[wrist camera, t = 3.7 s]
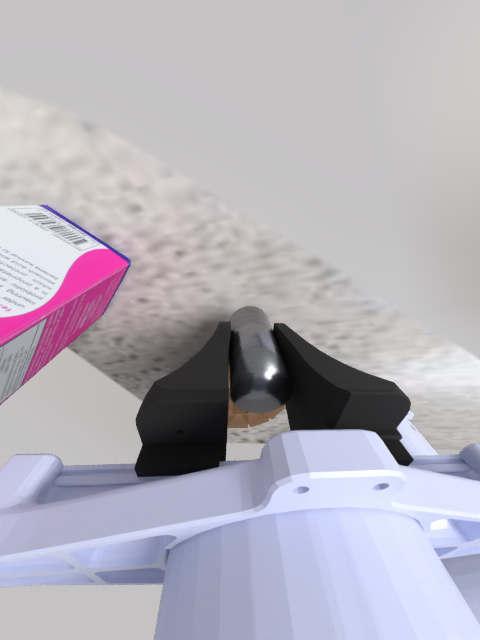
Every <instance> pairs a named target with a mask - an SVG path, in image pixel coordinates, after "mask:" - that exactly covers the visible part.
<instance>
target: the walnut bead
mask: <svg viewBox="0 0 480 640" xmlns="http://www.w3.org/2000/svg"><path fill="white" fill-rule="evenodd" d="M228 384H230V357H229V369H228ZM284 406H286V405H285V404H284V405H283V406H281V407H280V408H278V409H276V410H273V411H270V412H265V413H251V412H247V411H244V410H241V409H240V408H238V407H237V406H236V405H235V404H234V403H233V402H232V400H231V396H230V388H229V408H228V428H247V427H248V424H249V425H250V427H253V426H256V425H259V424H262V423H265V422H268V421H269V419H268V418H270V419H273V418H274V417H275V416H276V415H277V414H279V413H280V412H281V411H282V410H283V409H284Z"/></svg>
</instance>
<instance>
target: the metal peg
mask: <svg viewBox="0 0 480 640" xmlns="http://www.w3.org/2000/svg"><path fill="white" fill-rule="evenodd" d="M230 322H231V336H230V396H231V400H232V402H233V403H234V404H235V405H236V406H237V407H238V408H240V409H241V410H244V411H247V412H251V413H265V412H270V411H273V410H276V409H278V408H280V407H281V406H283V405H284V404H286V403H287V402H288V400H289V399H290V398H291V396H292V393H293V384H292V381H291V379H290V376H289V373H288V371H287V368H286V365H285V363H284V360H283V357H282V355H281V352H280V349H279V347H278V344H277V341H276V339H275V336H274V333H273V330H272V328H271V325H270V322H269V320H268V317H267V315H266V314H265V312H264V311H263V310H261V309H259V308H257V307H252V306H248V307H243V308H240V309H239V310H237V311H236V312H235V313H234V314H233V315H232V317H231V319H230Z"/></svg>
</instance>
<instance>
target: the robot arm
mask: <svg viewBox="0 0 480 640" xmlns="http://www.w3.org/2000/svg"><path fill="white" fill-rule="evenodd" d="M273 333H274V336H275V339H276V341H277V344H278V347H279V349H280V352H281V355H282V357H283V360H284V363H285V365H286V368H287V371H288V373H289V376H290V379H291V381H292V384H293V393H292V396H291V398H290V399H289V400H288V402H287V403H286V404H285V405H286V410H287V415H288V420H289V425H290V430H291V431H288V432H282V433H280V434H278V435H276V436H274V437H272V438H270V439H269V440H268V442H267V443H266V445H265V446H264V448H263V449H262V453H261V457H260V459H256V460H249V461H248V460H246V461H226V444H227V426H228V408H229V384H228V369H229V357H230V336H231V322H220V323H219V325H218V327H217V329H216V331H215V333H214V334H213V336H212V337H211V339H210V340H209V341H208V342H207V344H206V345H205V346H204V347H203V348H202V349H201V350H200V352H199V353H197V354H196V355H195V356H194V357H193V358H192V359H191V360H190V361H188V362H187V363H186V364H185V365H183V366H182V367H180V368H179V369H177V370H176V371H174V372H172V373H171V374H169V375H167V376H165V377H163V378H161V379H159V380H157V381H155V382H154V383H153V385H152V387H151V388H150V390H149V391H148V393H147V395H146V396H145V398H144V400H143V402H142V405H141V407H140V409H139V412H138V414H137V417H136V426H137V429H138V432H139V435H140V438H141V441H142V444H143V445H142V449H141V451H140V454H139V457H138V459H137V462H136V464H107V465H75V466H74V465H73V466H63V463H62V461H61V460H60V458H58V457H57V456H55V455H52V454H17V455H14V456H13V457H12V458H11V459H10V460H9V461H8V462H7V463H6V465H5V466H4V467H3V468H2V469H1V470H0V587H15V586H39V585H40V586H41V585H135V584H136V585H137V584H138V585H144V584H145V585H146V584H163V589H162V595H161V600H160V606H159V612H158V618H157V624H156V629H155V636H154V640H480V443H475V444H470V445H468V446H466V447H465V448H463V449H462V450H461V451H460V452H459V454H456V455H438V454H437V453H436V451H435V450H434V449H433V448H432V447H431V446H430V444H429V443H428V442H427V441H426V440H425V439H424V437H423V436H422V435H421V434H420V433H419V432H418V430H417V429H416V428H415V427H414V426H413V425H412V423H411V422H410V421H409V420H410V419H412V418H413V417H414V414H413V413H412V412H411V411H409V410H410V405H411V402H410V399H409V398H408V397H407V396H406V395H405V394H404V393H403V392H402V391H401V389H400V388H399V387H398V386H397V385H396V384H395V383H394V382H391V381H388V380H385V379H382V378H379V377H376V376H373V375H370V374H367V373H365V372H362V371H360V370H357V369H355V368H352V367H350V366H348V365H346V364H344V363H342V362H340V361H338V360H336V359H334V358H332V357H330V356H328V355H327V354H325V353H323V352H321V351H320V350H318V349H317V348H315V347H314V346H312V345H311V344H310V343H308V342H307V341H305V340H304V339H303V338H302V337H300V336H299V335H298V334H296V333H295V332H294V331H293V330H292V329H290V328H289V327H288V326H286V325H285V324H284V323H274V328H273Z"/></svg>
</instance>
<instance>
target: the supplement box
mask: <svg viewBox="0 0 480 640" xmlns="http://www.w3.org/2000/svg"><path fill="white" fill-rule="evenodd" d="M130 264H131V260H129V259H128V258H127V257H125V256H124V255H122V254H121V253H119V252H118V251H116V250H115V249H113V248H112V247H110V246H109V245H107V244H106V243H104V242H103V241H101V240H100V239H98V238H96V237H95V236H93V235H92V234H90V233H89V232H87V231H86V230H84V229H82V228H81V227H79V226H78V225H76V224H75V223H73V222H72V221H70V220H69V219H67V218H66V217H64V216H62V215H61V214H59V213H58V212H56V211H55V210H53V209H52V208H50V207H49V206H47V205H22V206H0V405H1V404H2V403H3V402H4V401H5V400H6V399H8V398H9V397H10V396H11V395H12V394H13V393H14V392H15V391H17V390H18V389H19V388H20V387H21V386H22V385H24V384H25V383H26V382H27V381H28V380H29V379H30V378H32V377H33V376H34V375H35V374H36V373H37V372H38V371H39V370H40V369H41V368H43V367H44V366H45V365H46V364H47V363H48V362H49V361H50V360H52V359H53V358H54V357H55V356H56V355H57V354H59V353H60V352H61V351H62V350H63V349H64V348H65V347H67V346H68V345H69V344H70V343H71V342H72V341H73V340H75V339H76V338H77V337H78V336H79V335H80V334H81V333H82V332H84V331H85V330H86V329H87V328H88V327H89V326H90V325H92V324H93V323H94V322H95V321H96V320H97V319H98V318H100V317H101V316H102V315H103V314H104V312H105V310H106V308H107V307H108V305H109V303H110V301H111V299H112V298H113V296H114V294H115V292H116V290H117V289H118V287H119V285H120V283H121V281H122V279H123V278H124V276H125V274H126V272H127V270H128V268H129V266H130Z"/></svg>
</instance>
